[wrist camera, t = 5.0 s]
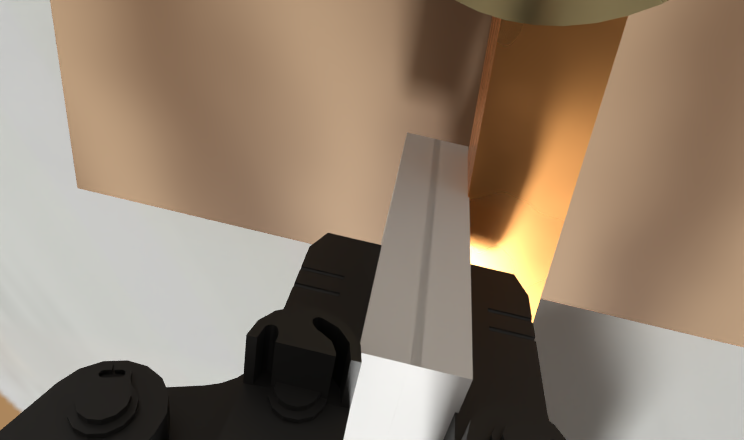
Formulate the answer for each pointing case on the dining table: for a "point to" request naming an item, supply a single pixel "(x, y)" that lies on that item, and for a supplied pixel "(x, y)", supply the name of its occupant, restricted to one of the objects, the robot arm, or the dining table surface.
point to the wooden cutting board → (416, 132)
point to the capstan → (536, 125)
